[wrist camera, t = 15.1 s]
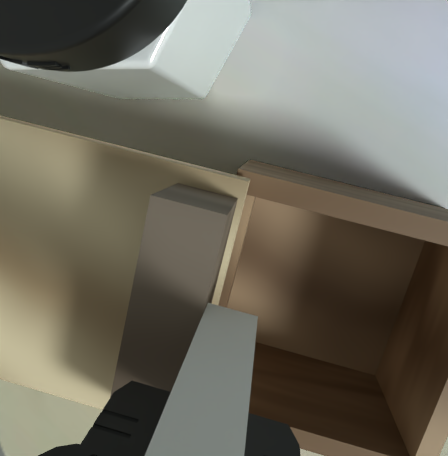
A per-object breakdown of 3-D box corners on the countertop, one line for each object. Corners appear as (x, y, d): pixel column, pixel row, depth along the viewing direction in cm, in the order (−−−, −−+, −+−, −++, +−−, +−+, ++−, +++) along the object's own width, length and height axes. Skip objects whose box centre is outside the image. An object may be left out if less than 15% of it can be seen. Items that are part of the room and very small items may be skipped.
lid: (-23, 109, 15) (-132, 98, 11) (250, 178, 14) (241, 193, 10) (-46, 347, 17) (-142, 409, 13) (189, 416, 16) (162, 504, 12)
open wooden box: (249, 159, 21) (238, 168, 14) (445, 208, 20) (531, 242, 14) (206, 332, 23) (177, 412, 16) (380, 382, 23) (426, 485, 16)
